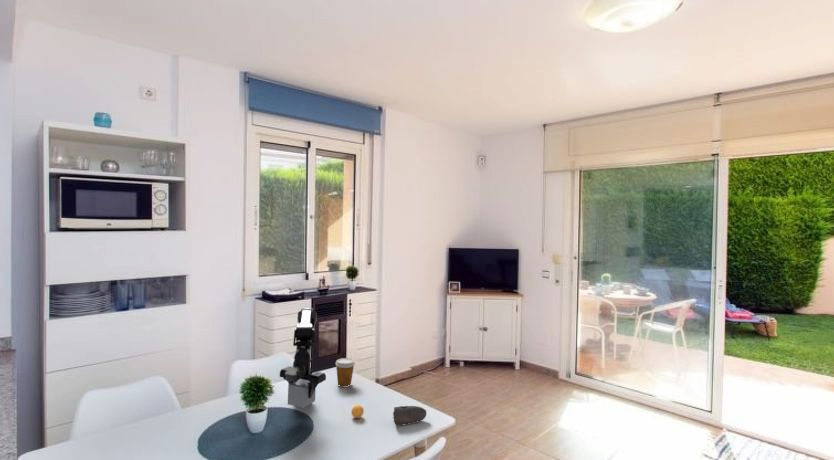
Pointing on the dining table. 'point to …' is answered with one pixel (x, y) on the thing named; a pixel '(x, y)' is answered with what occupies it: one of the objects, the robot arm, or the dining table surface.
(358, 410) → the ball
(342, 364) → the disposable coffee cup
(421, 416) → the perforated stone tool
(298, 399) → the grey cube
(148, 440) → the dining table surface
